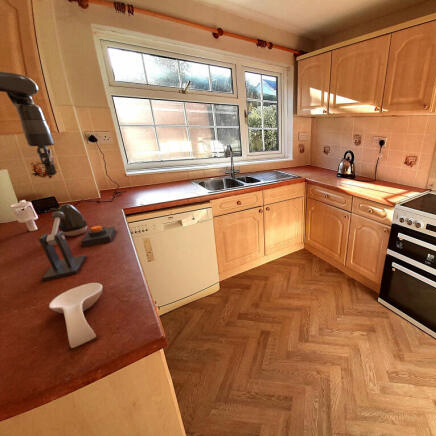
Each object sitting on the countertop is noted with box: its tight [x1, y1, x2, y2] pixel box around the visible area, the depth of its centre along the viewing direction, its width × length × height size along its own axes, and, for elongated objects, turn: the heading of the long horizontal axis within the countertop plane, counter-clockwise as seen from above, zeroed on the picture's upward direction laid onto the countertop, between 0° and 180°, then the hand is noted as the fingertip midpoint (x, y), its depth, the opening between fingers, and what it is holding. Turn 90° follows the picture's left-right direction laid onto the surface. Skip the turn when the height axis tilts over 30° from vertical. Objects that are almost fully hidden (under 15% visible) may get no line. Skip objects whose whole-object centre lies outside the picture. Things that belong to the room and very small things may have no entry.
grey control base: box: [80, 226, 116, 248], centre depth 110 cm, size 12×10×4 cm
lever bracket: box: [38, 230, 87, 282], centre depth 86 cm, size 12×9×14 cm
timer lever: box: [46, 211, 64, 246], centre depth 88 cm, size 15×3×3 cm, turn 28°
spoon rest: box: [48, 282, 103, 349], centre depth 65 cm, size 24×12×7 cm, turn 42°
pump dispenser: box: [49, 203, 88, 237], centre depth 114 cm, size 10×10×15 cm
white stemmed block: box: [10, 199, 39, 232], centre depth 121 cm, size 7×7×15 cm
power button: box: [90, 225, 102, 232], centre depth 109 cm, size 4×4×2 cm
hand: (52, 174), depth 101 cm, fingers open, 8 cm apart
